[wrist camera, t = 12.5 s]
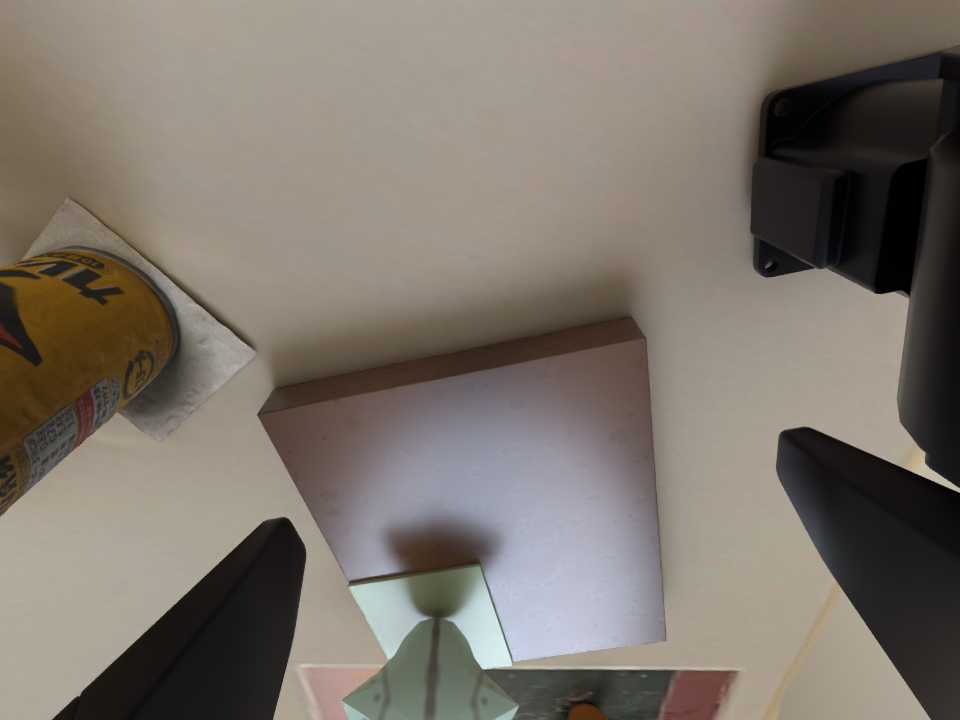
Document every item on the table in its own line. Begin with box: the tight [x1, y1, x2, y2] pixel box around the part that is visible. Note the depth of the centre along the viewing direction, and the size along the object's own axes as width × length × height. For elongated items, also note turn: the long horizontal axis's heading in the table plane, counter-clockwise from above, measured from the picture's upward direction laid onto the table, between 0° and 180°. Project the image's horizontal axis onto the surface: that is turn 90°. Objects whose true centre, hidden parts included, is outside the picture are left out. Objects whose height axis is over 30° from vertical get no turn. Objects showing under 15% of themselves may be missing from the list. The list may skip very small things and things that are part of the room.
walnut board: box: [257, 317, 666, 669], centre depth 25 cm, size 16×20×2 cm
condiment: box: [0, 197, 257, 516], centre depth 15 cm, size 7×8×12 cm
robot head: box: [341, 617, 519, 720], centre depth 24 cm, size 8×4×7 cm, turn 86°
